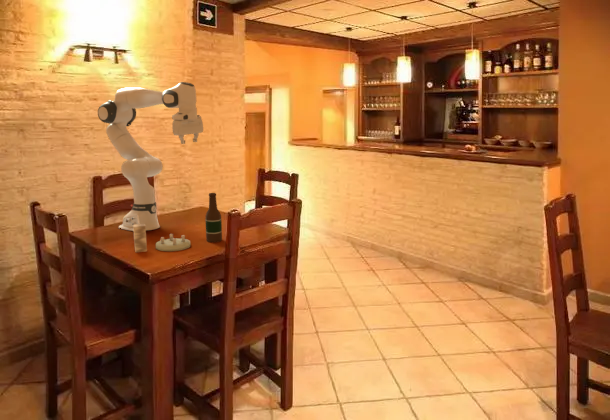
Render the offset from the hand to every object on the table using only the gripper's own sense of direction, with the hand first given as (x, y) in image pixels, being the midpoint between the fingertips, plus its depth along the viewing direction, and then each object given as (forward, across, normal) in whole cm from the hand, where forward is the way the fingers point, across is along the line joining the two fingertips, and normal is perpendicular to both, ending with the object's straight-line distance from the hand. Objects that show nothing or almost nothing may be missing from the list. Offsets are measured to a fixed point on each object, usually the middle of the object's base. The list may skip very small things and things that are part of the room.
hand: (189, 142), depth 251 cm
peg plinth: (+46, +28, +11) cm, 55 cm away
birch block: (+46, +40, +2) cm, 60 cm away
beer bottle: (+46, +10, +22) cm, 52 cm away
